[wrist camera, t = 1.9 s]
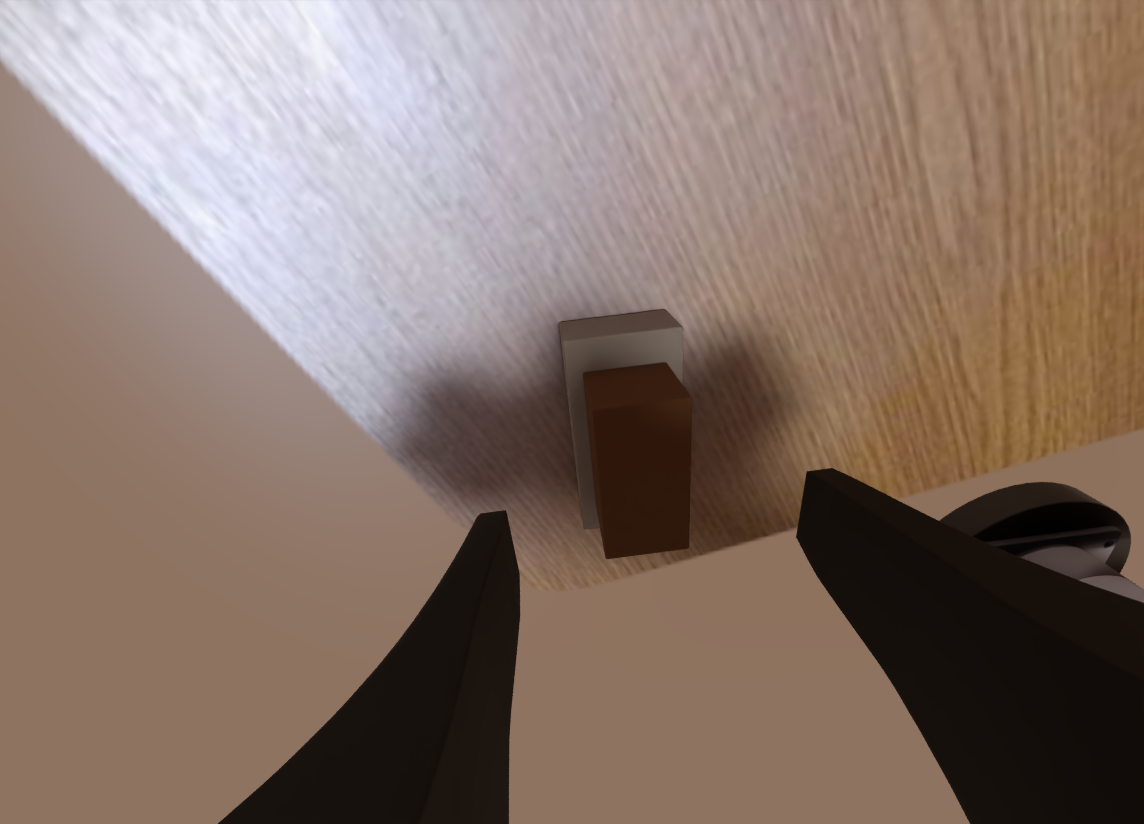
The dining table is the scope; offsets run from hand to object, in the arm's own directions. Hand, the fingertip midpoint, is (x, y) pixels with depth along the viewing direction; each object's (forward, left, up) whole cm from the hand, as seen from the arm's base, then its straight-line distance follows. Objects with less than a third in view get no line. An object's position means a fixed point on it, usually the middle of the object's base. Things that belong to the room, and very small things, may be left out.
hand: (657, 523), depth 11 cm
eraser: (0, 0, -6) cm, 6 cm away
